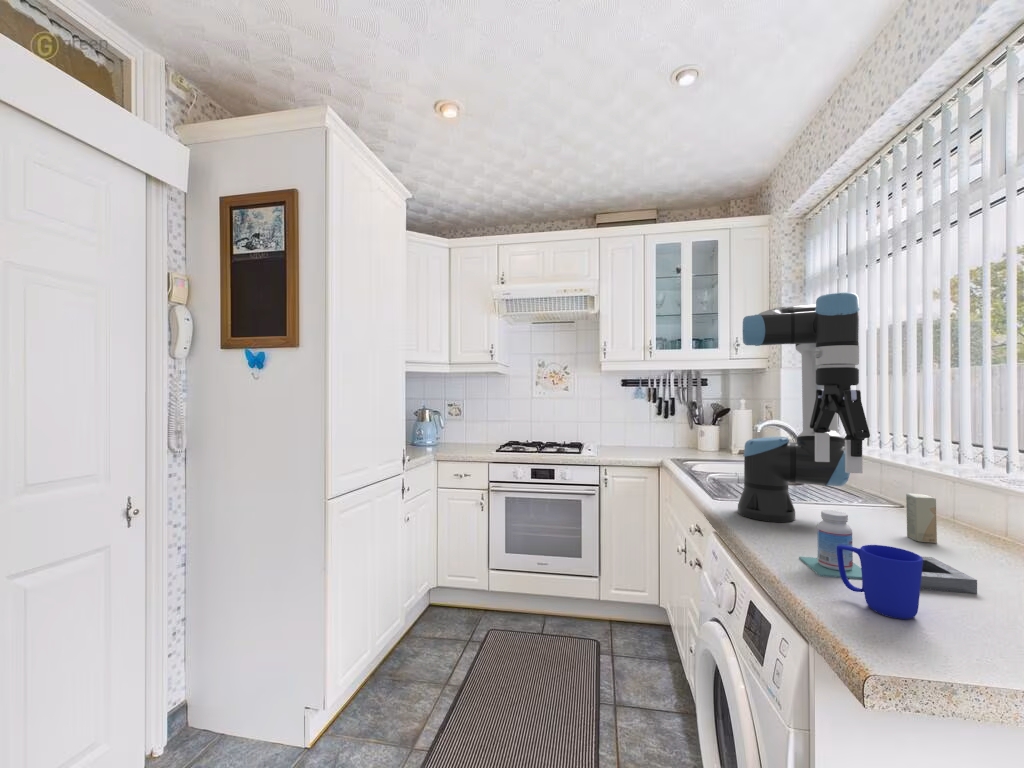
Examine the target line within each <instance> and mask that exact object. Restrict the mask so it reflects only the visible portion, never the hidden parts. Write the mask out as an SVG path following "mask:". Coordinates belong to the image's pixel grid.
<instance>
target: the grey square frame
mask: <svg viewBox="0 0 1024 768" xmlns="http://www.w3.org/2000/svg"><path fill="white" fill-rule="evenodd" d="M920 556H921V557H922V558H923V566H922V576H921V586H920V590H923V591H925V590H926V591H937V592H952V593H953V592H954V593H964V594H966V593H967V594H976V595H977V594H978V579H976V578H974V577H972V576H970V575H969V574H966V573H964V572H962V571H960V570H958V569H956V568H954V567H952V566H950V565H949V564H946V563H944V562H942V561H940V560H938V559H936V558H934V557H932V556H922V555H920Z"/></svg>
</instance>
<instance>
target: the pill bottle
mask: <svg viewBox="0 0 1024 768" xmlns="http://www.w3.org/2000/svg"><path fill="white" fill-rule="evenodd" d="M848 516H849V515H848V513H846V512H843V511H838V510H831V509H830V510H829V509H827V510H826V509H823V510H821V512H820V517H821V519H822V520H821V521H819V522H817V527H816V529H817V532H816V534H817V537H816V538H817V539H816V540H817V543H816V544H817V547H816V548H817V558H818V563H819V564H820V565H822V566H823V567H826V568H829V569H833V570H839V566H838V559H837V546H838V545H846V546H851V547H853V529H852V527H851V526H850V525H849V524H848V521H849V517H848ZM853 553H854V552H852V551H849V550H844V549H843V561H844V568H845V571H848V570H851V569H852V568H853V563H854V562H853V561H854V560H853V559H854V558H853V556H854V555H853Z"/></svg>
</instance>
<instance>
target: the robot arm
mask: <svg viewBox="0 0 1024 768" xmlns="http://www.w3.org/2000/svg"><path fill="white" fill-rule="evenodd" d="M859 303H860V301H859V296H858V294H856V293H854V292H836V293H835V292H834V293H828V294H827V293H826V294H823V295H820V296H818V297H817V298H816V301H815V304H808V305H807V304H805V305H793V306H792V305H791V306H780V307H779V306H778V307H776V308H771V309H767V310H765V311H761V312H760V313H758V314H754V315H746V316H745V317H743V318H742V343H743V344H744V345H746V346H755V347H757V346H759V347H760V346H772V345H773V346H779V345H795V351H797V352H798V353H799V354H801V394H802V395H801V396H802V397H801V398H802V406H801V407H802V408H801V409H802V432H800V433H799V434H798V435H797V436H796V442H792V441H791V442H790V440H789V438H788V437H787V436H770V437H769V436H767V437H758V438H751V439H749V440H747V441H746V442H745V443H744V448H743V449H744V450H743V457H744V459H743V460H744V461H743V462H744V468H743V469H744V470H743V473H744V474H743V481H744V482H743V483H744V485H743V490H742V492H741V496H740V498H739V501H738V503H737V513H738V515H740V516H743V517H745V518H748V519H752V520H757V521H761V522H762V521H763V522H772V523H788V522H794V521H795V520H796V509H795V507H794V504H793V501H792V498H791V495H790V492H789V483H794V484H804V485H805V484H806V485H817V486H824V487H829V486H830V487H842V486H845V485H846V484H847V483H848V481H849V478H850V474H863V441H865V439H869V438H871V432H870V429H869V425H868V421H867V418H866V415H865V411H864V407H863V403H862V395H861V393H862V392H861V390H860V389H852V388H851V386H858V385H859V384H860V383H859V382H860V369H859V368H858V367H856V366H858V365H860V345H859V327H860V326H859V321H860V310H861V308H860V306H859ZM838 416H839V417H838ZM839 419H840V422H841V425H842V427H843V429H844V431H845V434H846V435H845V436H843V435H842V434H840V433H839Z"/></svg>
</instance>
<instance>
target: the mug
mask: <svg viewBox="0 0 1024 768" xmlns="http://www.w3.org/2000/svg"><path fill="white" fill-rule="evenodd" d="M843 549H844V550H849V551H852V552H853V553H856V555H858V557H859V561H860V568H861V570H862V579H861V584H862V585H861V588H859V587H856V586H854V585H853V584H852V583H851V582H850V581H849V578H847V576H846V573H845V568H844V561H843ZM921 556H922V555H919V554H917V553H915V552H913V551H910V550H906V549H904V548H900V547H895V546H889V545H882V544H880V545H879V544H865V545H862V546H860V548H859V547H855V546H852V547H851V546H846V545H838V546H837V559H838V566H839V572H840V576H841V578H840V579H841V581H842V583H843V584H844V586H845V587H846V588H847V589H848V590H850V591H853V592H856V593H864V594H863V595H864V599H865V602H866V604H867V606H868V607H869V608H870V609H871V610H873V611H874V612H876V613H878V614H880V615H883V616H886V617H889V618H893V619H897V620H898V619H900V620H910V619H914V618H915V617H916V616H917V615H918V611H919V607H920V606H919V605H920V596H921V595H920V593H921V589H920V586H921V576H922V566H923V558H922V557H921Z"/></svg>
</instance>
